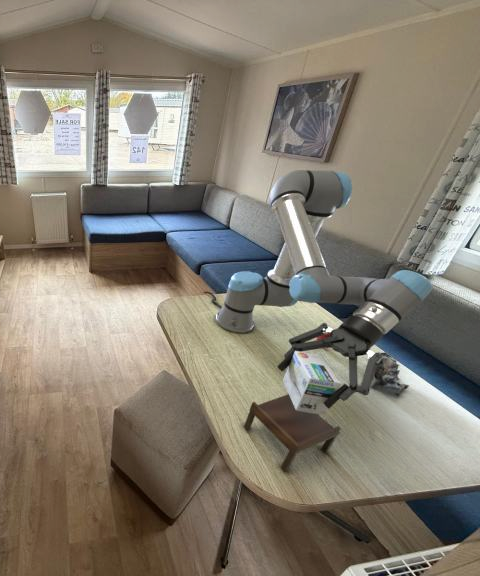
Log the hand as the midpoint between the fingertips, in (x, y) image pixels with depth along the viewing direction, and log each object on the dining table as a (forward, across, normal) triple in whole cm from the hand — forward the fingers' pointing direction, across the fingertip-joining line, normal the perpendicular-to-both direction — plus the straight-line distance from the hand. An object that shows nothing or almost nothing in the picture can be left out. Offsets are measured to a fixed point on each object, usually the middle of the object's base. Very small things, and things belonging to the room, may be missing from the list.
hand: (301, 386), depth 77 cm
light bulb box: (+2, 0, +5) cm, 6 cm away
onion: (-22, -24, +50) cm, 60 cm away
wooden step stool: (+13, +1, +15) cm, 20 cm away
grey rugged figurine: (-24, -4, +52) cm, 57 cm away
